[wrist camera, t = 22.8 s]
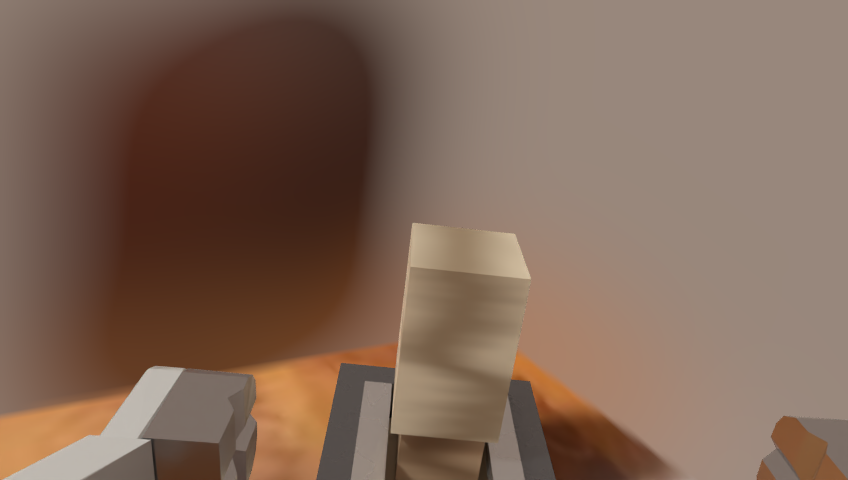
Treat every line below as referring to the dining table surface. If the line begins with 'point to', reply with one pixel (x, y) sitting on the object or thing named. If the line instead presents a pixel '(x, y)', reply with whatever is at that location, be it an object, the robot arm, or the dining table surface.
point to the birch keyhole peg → (454, 351)
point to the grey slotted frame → (372, 407)
